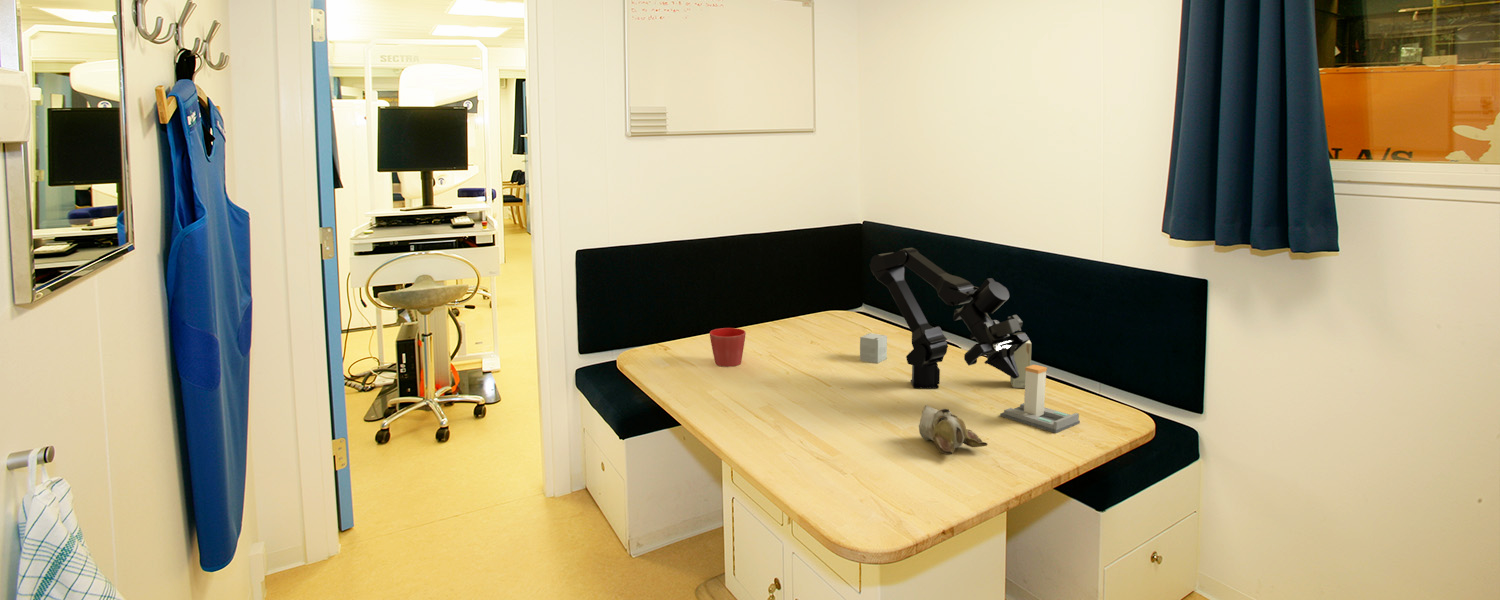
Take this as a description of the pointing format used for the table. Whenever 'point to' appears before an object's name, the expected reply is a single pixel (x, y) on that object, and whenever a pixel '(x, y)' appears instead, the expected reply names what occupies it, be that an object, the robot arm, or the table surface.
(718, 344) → the flower pot
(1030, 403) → the fader knob
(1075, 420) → the console
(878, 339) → the skincare box
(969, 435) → the ceramic sculpture
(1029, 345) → the skincare box
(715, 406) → the table surface
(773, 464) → the table surface
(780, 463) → the table surface
